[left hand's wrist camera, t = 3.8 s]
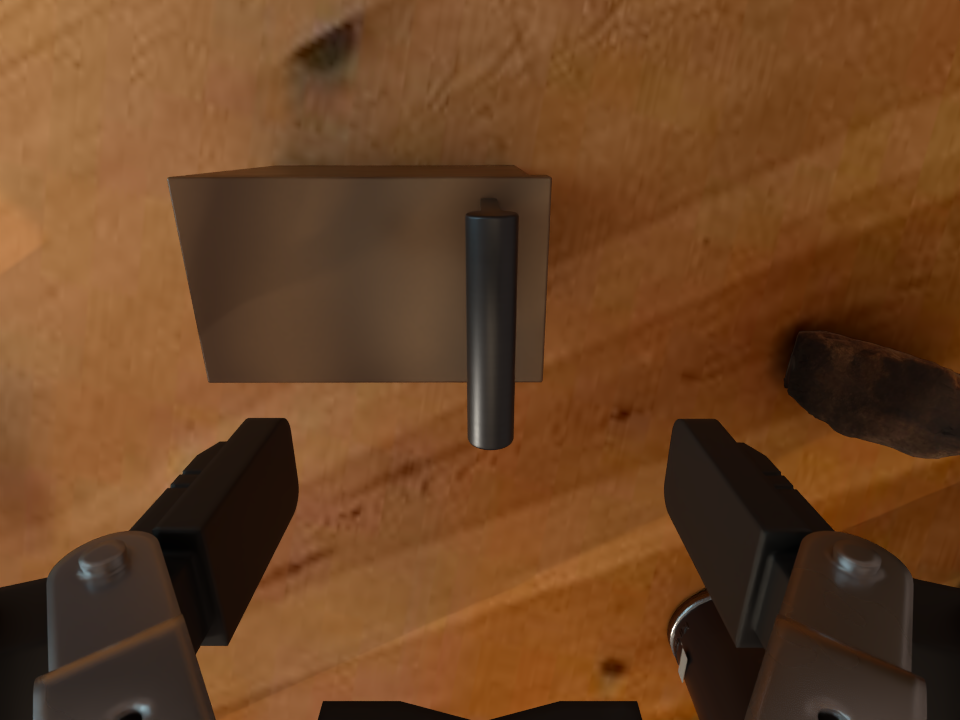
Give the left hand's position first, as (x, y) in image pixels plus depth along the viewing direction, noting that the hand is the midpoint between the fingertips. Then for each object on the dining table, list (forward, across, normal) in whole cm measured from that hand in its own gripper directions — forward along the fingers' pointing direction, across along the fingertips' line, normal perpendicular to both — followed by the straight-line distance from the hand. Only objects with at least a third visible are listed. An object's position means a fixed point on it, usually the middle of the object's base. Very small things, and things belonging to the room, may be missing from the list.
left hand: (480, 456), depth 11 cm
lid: (+14, +5, 0) cm, 15 cm away
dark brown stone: (+25, -26, +8) cm, 38 cm away
